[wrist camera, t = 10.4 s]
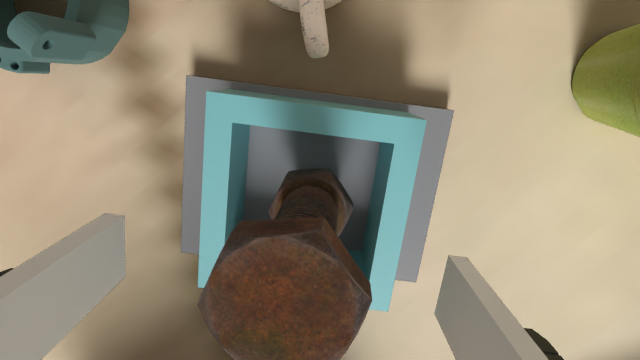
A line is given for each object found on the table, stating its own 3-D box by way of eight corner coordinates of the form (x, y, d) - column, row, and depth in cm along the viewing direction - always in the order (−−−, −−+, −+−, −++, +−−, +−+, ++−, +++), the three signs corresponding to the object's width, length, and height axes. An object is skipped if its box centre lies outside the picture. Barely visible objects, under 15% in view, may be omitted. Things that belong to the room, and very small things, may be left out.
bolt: (330, 236, 27) (312, 408, 13) (268, 206, 27) (177, 346, 12) (367, 167, 26) (396, 270, 11) (302, 135, 25) (244, 197, 11)
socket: (188, 243, 29) (149, 288, 23) (194, 75, 26) (150, 74, 20) (411, 272, 30) (433, 324, 23) (447, 108, 26) (483, 118, 20)
